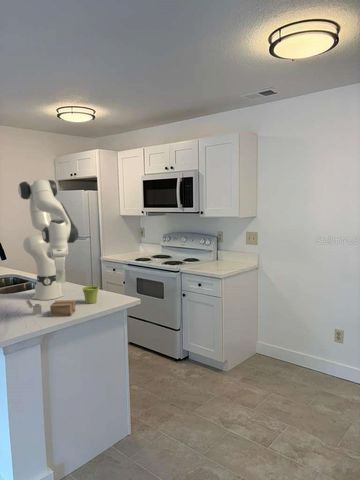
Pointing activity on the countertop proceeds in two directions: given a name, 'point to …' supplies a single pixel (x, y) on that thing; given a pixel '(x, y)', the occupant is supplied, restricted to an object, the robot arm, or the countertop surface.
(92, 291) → the plant pot
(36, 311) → the lighter
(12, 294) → the countertop surface
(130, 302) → the countertop surface
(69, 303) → the walnut block
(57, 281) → the sage block
